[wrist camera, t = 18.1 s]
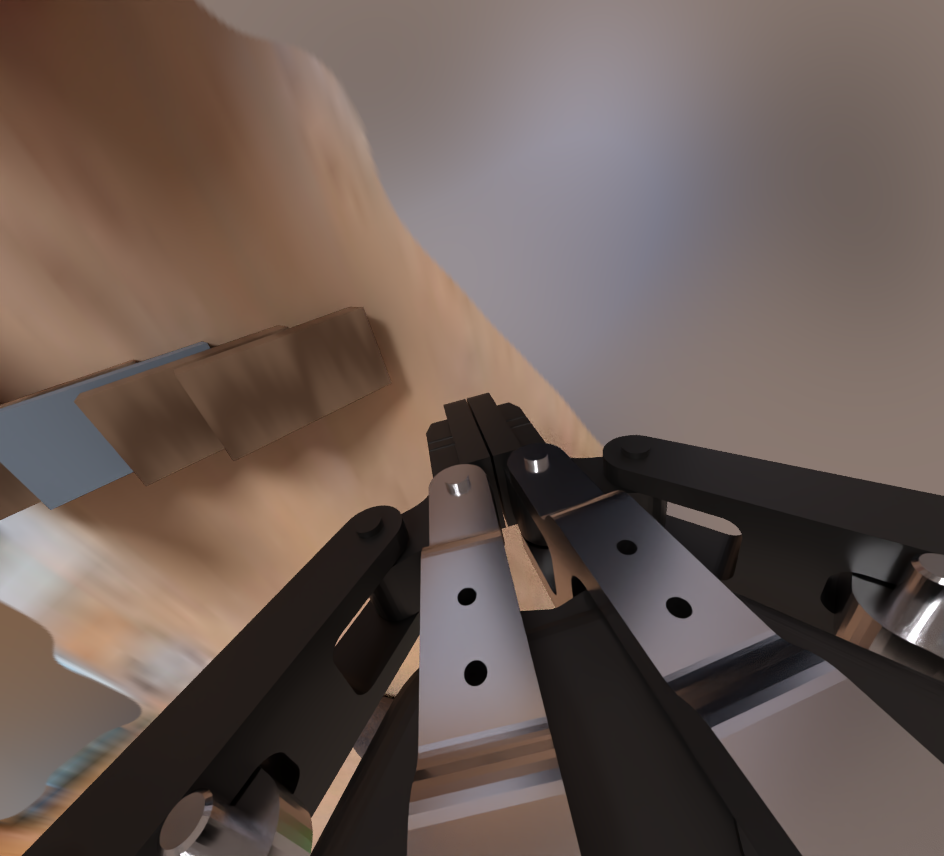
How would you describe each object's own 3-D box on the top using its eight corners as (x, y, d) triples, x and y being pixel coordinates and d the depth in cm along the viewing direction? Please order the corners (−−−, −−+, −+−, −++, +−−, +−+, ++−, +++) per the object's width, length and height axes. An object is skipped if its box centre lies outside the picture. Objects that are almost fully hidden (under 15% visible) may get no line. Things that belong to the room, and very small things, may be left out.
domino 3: (277, 325, 23) (79, 393, 18) (287, 326, 22) (73, 401, 17) (312, 395, 26) (145, 472, 21) (323, 401, 24) (145, 486, 19)
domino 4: (349, 307, 23) (173, 369, 19) (363, 307, 22) (175, 375, 17) (376, 378, 26) (227, 449, 21) (391, 382, 24) (233, 461, 19)
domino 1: (133, 359, 23) (-112, 442, 18) (133, 361, 21) (-137, 453, 16) (184, 428, 25) (-20, 519, 20) (187, 434, 23) (-34, 535, 18)
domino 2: (201, 341, 23) (-23, 416, 18) (206, 342, 21) (-38, 425, 16) (244, 411, 25) (57, 495, 20) (252, 417, 24) (50, 510, 18)
